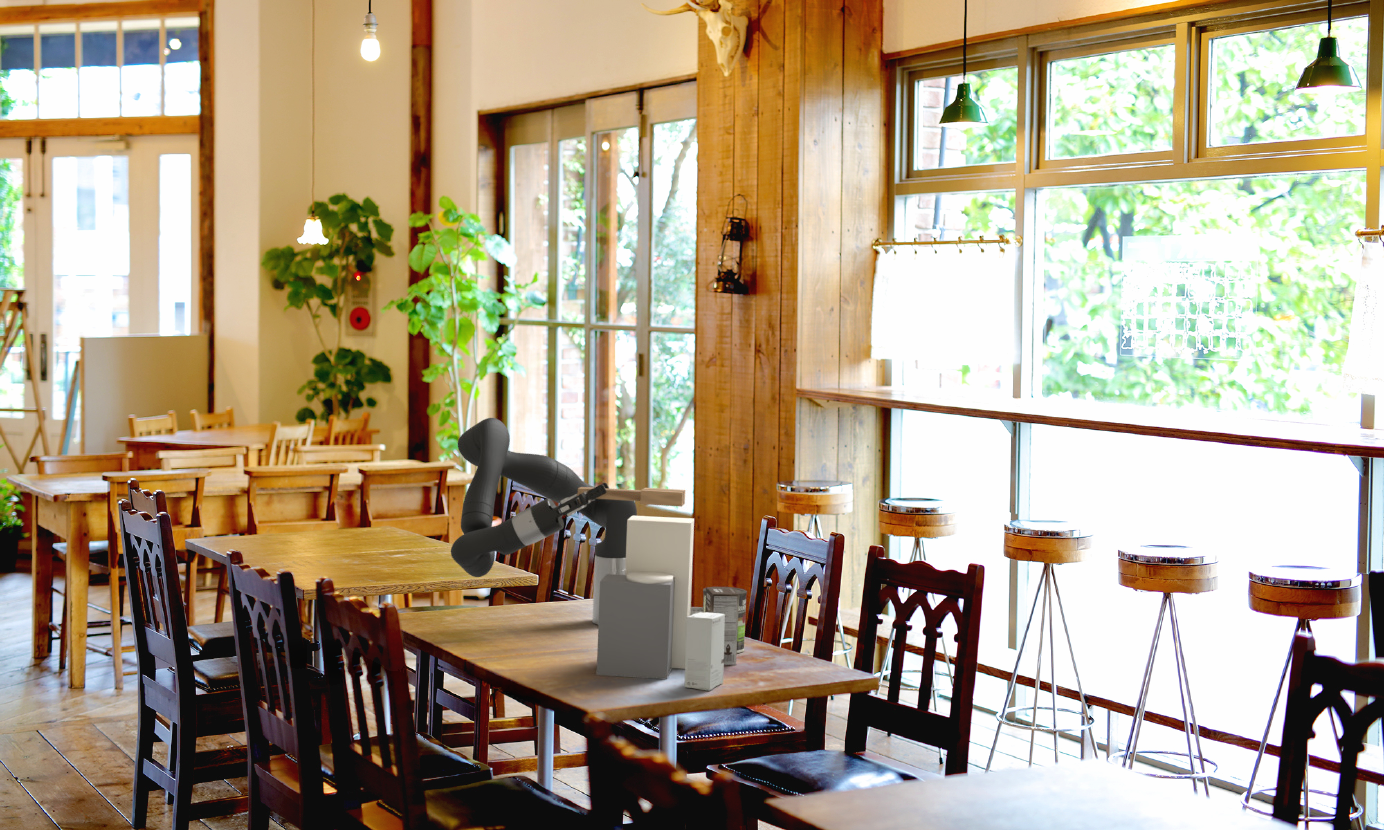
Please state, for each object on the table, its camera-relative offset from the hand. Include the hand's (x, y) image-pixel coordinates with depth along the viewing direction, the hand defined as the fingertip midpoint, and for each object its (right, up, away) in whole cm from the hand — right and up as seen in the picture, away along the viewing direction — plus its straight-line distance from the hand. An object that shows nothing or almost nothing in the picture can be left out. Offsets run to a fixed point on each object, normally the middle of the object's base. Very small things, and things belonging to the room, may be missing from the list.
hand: (606, 487), depth 286 cm
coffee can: (+26, -40, +21) cm, 52 cm away
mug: (+21, -39, +34) cm, 56 cm away
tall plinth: (+11, -39, +5) cm, 41 cm away
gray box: (+6, -39, -5) cm, 40 cm away
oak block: (+5, -3, 0) cm, 6 cm away
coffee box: (+25, -40, +10) cm, 48 cm away
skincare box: (+21, -41, -14) cm, 48 cm away
